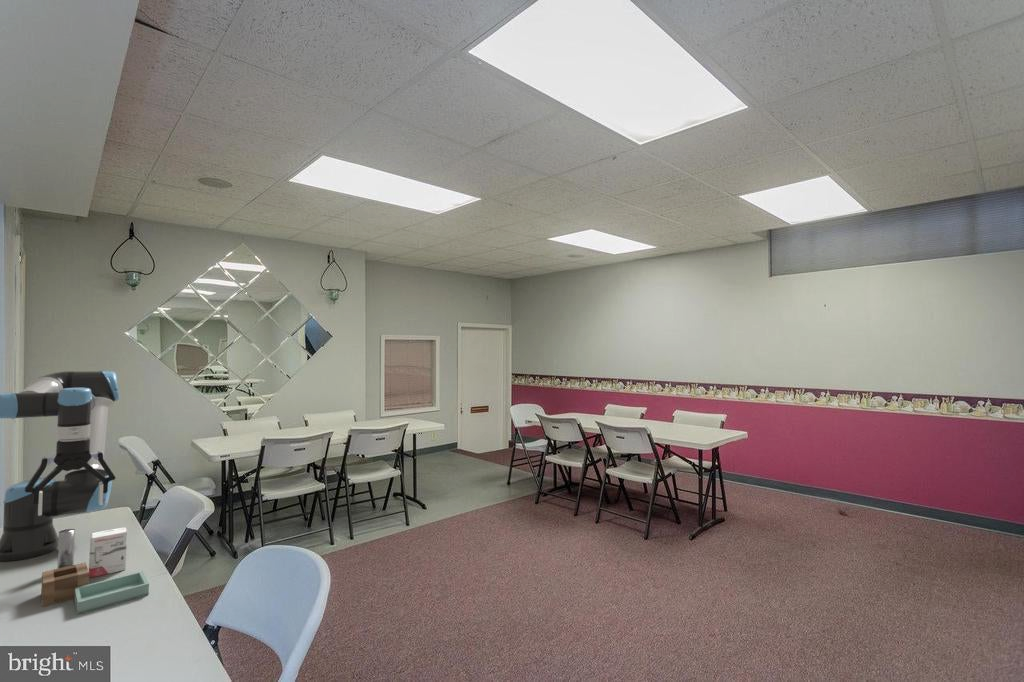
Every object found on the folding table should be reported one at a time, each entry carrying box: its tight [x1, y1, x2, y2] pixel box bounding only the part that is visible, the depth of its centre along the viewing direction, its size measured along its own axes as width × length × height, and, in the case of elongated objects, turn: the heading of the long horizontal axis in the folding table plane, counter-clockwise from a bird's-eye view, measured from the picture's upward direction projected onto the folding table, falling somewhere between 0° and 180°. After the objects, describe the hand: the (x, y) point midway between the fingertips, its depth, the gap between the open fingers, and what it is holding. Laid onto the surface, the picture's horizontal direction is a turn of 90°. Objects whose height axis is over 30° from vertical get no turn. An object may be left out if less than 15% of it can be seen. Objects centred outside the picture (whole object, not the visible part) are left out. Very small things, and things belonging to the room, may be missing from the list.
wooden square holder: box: [40, 562, 90, 607], centre depth 132 cm, size 9×9×6 cm
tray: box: [73, 570, 150, 615], centre depth 131 cm, size 11×15×3 cm
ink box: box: [88, 527, 128, 579], centre depth 146 cm, size 9×5×12 cm, turn 132°
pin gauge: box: [56, 528, 76, 569], centre depth 146 cm, size 4×4×12 cm
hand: (71, 509), depth 146 cm, fingers open, 13 cm apart
